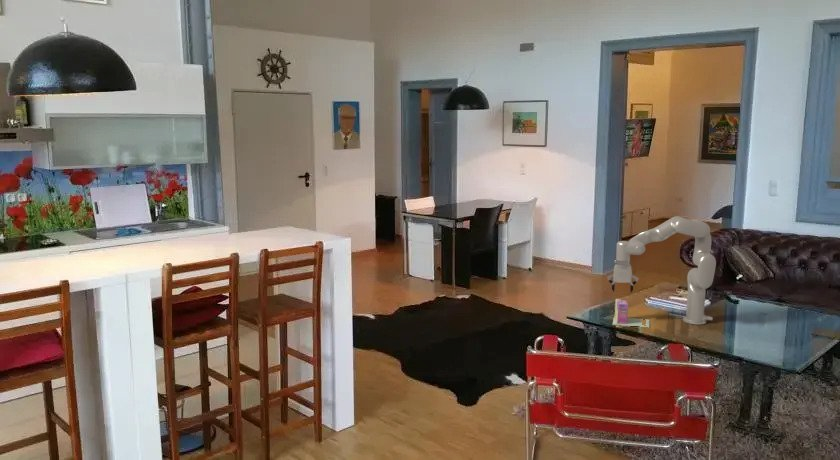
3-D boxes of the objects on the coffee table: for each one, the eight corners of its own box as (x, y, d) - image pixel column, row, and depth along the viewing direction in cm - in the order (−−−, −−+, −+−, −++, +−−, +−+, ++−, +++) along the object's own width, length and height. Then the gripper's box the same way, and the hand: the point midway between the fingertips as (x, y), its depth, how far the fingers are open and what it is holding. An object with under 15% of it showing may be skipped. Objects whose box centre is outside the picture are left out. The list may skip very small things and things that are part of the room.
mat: (649, 320, 393) (649, 319, 393) (649, 328, 380) (649, 327, 380) (613, 317, 399) (613, 316, 399) (612, 324, 386) (612, 323, 386)
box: (627, 323, 386) (628, 304, 383) (617, 323, 386) (617, 303, 384) (624, 318, 396) (625, 299, 393) (614, 318, 396) (615, 298, 394)
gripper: (606, 263, 384) (606, 292, 387) (638, 264, 378) (637, 294, 382) (607, 260, 391) (607, 289, 394) (638, 261, 385) (638, 290, 389)
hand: (622, 291), depth 388 cm, fingers open, 9 cm apart
